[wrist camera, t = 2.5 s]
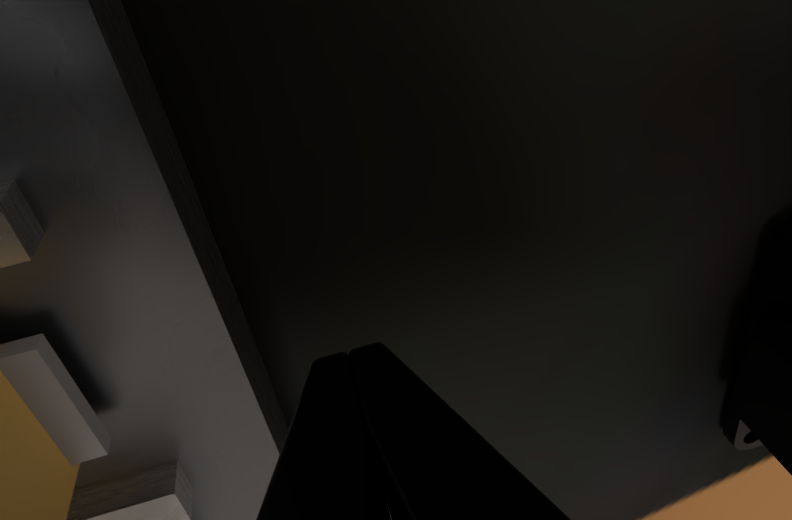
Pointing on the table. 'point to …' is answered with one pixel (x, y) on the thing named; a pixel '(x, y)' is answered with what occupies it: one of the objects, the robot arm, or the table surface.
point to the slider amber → (42, 432)
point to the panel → (125, 273)
